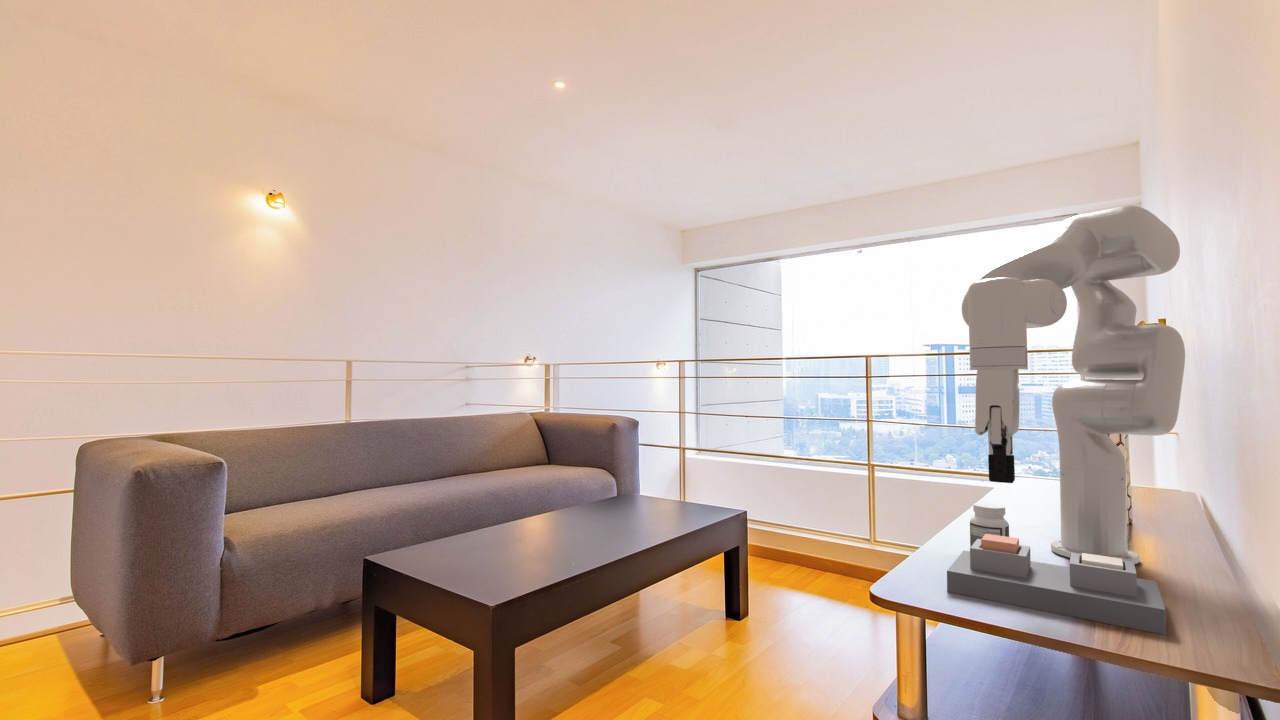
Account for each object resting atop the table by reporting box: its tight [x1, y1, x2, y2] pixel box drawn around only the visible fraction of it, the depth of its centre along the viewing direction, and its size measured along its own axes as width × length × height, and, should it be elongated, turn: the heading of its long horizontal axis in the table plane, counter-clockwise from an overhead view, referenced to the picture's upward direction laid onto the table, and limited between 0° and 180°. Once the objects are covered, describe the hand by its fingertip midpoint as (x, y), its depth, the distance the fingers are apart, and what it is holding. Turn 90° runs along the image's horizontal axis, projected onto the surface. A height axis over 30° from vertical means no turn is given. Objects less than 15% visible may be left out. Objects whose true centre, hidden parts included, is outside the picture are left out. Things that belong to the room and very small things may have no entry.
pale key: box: [1082, 553, 1123, 570], centre depth 81 cm, size 4×4×3 cm
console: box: [946, 539, 1167, 636], centre depth 85 cm, size 14×24×6 cm, turn 53°
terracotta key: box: [981, 534, 1020, 554], centre depth 89 cm, size 4×4×3 cm
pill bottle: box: [969, 502, 1010, 548], centre depth 101 cm, size 6×6×10 cm
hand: (1001, 481), depth 90 cm, fingers closed
